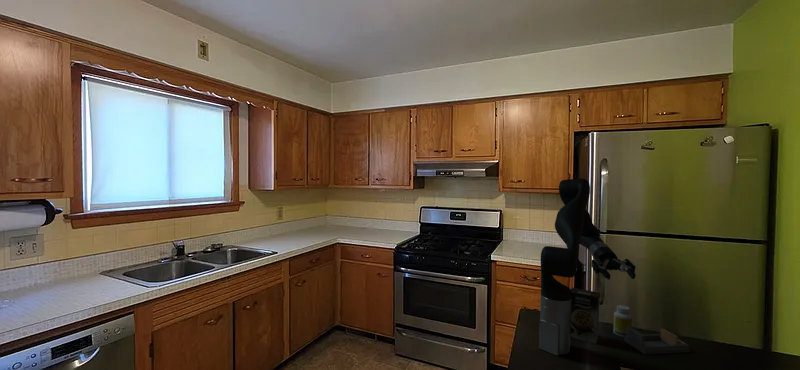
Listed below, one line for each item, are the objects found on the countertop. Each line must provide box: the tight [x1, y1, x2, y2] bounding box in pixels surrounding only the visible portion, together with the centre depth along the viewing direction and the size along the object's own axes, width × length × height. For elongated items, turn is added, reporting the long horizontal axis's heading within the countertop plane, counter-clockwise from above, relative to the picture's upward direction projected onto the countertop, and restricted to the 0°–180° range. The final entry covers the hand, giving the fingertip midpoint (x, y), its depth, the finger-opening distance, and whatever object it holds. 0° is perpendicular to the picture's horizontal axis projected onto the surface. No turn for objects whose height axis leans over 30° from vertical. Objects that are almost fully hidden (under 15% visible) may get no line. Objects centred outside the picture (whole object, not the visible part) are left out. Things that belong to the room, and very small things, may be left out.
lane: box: [623, 326, 691, 355], centre depth 116 cm, size 16×9×5 cm, turn 96°
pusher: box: [660, 328, 679, 345], centre depth 117 cm, size 1×6×4 cm, turn 6°
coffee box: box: [570, 287, 601, 344], centre depth 122 cm, size 9×6×16 cm
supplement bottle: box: [612, 304, 633, 338], centre depth 125 cm, size 5×5×10 cm
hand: (621, 277), depth 130 cm, fingers open, 8 cm apart
